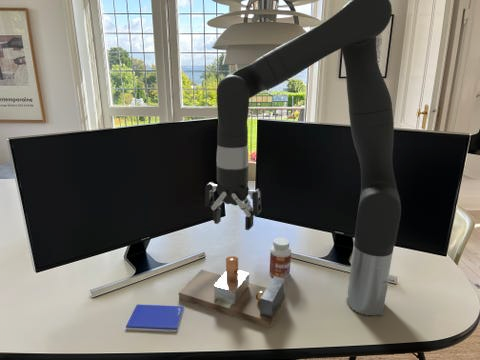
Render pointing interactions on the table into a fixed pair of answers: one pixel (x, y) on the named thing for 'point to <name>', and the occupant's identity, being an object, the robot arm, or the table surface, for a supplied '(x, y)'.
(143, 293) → the table surface
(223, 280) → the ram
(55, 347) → the table surface
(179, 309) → the hard drive
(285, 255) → the pill bottle
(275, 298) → the grey block with knob
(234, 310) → the board
